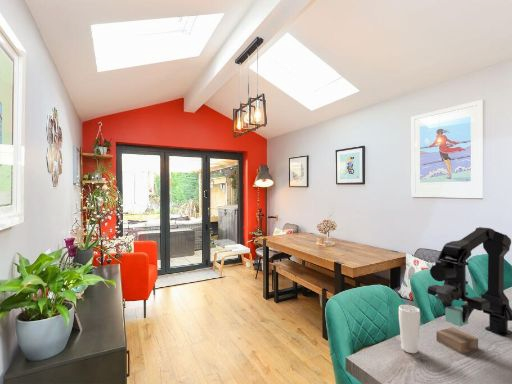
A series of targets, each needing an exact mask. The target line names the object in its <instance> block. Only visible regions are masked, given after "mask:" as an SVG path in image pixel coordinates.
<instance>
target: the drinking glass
mask: <svg viewBox="0 0 512 384" xmlns="http://www.w3.org/2000/svg"><path fill="white" fill-rule="evenodd" d="M398 324H399V333H400V335H399V336H400V347H401V350H403V351H404V352H406V353H410V354H417V353H418V351H419V338H420V329H421V310H420V308H418V306H413V305H411V304H400V305H399V306H398Z"/></svg>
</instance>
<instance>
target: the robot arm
mask: <svg viewBox="0 0 512 384" xmlns="http://www.w3.org/2000/svg"><path fill="white" fill-rule="evenodd" d="M481 244H482V248H483V250H484V252H486V254H487V290H486V291H485V292H484V293H481V297H480V296H473V297H469V292H468V291H467V285H468V284H469V281H468V280H467V279H466V278H467V274H466V266H469V265H470V264H469V262H468V261H467V260H468V259H469V258H470V257H471V256H472V251H473V250H474V249H476V248H477V247H479V246H481ZM511 245H512V239H511V238H510V237H509V236H508V235H507V234H505V233H502V232H498V231H496V230H494V229H493V228H490V227H481V226H479V227H476V228H475V230H474V231H472V232H471V233H468V234H467V235H466V236H464V237H462V238H461V239H459V240H453V241H449V242H446V243H445V244H444V245H443V247H442V249H441V251H440V253H439V255H438V257H437V260H436V261H434V262H435V263H434V265H432V266H431V267H430V269H429V274H430V276H431V277H432V279H433V280H434V281H437V282H443V284H442V285H439V284H433V285H429V286H427V294H428V295H432V296H435V298H436V299H438V300H439V301H440V302H441V304H442V306H443V308H444V309H445V308H446V307H449V306H453V302H454V301H460V302H464V304H461V305H460V308H463V323H466V321H467V320H468V321H469V319H470V316H471V314H472V313H473V311H474V310H476V311H479V312H481V311H482V312H483V313H484V314H487V315H488V318H489V319H488V320H489V325H488V326H485V327H484V328H485V330H487V331H489V332H492V333H495V334H497V335H499V336H503V337H505V336H508V335H510V334H512V330H510V329H509V321H510V322H512V308H511V306H510V299H508V296H507V295H506V293H505V292H504V279H505V277H504V276H505V267H504V266H505V265H504V264H505V255H506V254H508V253H509V252H510V249H511Z"/></svg>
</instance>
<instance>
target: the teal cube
mask: <svg viewBox="0 0 512 384" xmlns="http://www.w3.org/2000/svg"><path fill="white" fill-rule="evenodd" d="M444 315H445V317H444V318H445V322H447V323H450V324H452V325H454V326H458V327H463V326H465V325H468V324H469V319H468V320H467V321H466V323H463V308H462V307H461V306H457V305H453V304H452V306H449V307H446V308H444Z"/></svg>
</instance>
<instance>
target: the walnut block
mask: <svg viewBox="0 0 512 384" xmlns="http://www.w3.org/2000/svg"><path fill="white" fill-rule="evenodd" d="M435 336H436V342H438V343H440V344H441V345H443V346H445V347H447V348H449V349H451V350H453V351H455V352H456V353H458V354H461V355H462V354H466V353H469V352H471V351H475V350H479V338H478V337H475V336H473V335H472V334H469V333H467V332H465V331H462V330H459V329H458V328H456V327H448V328H444V329H440V330H436V335H435Z"/></svg>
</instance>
